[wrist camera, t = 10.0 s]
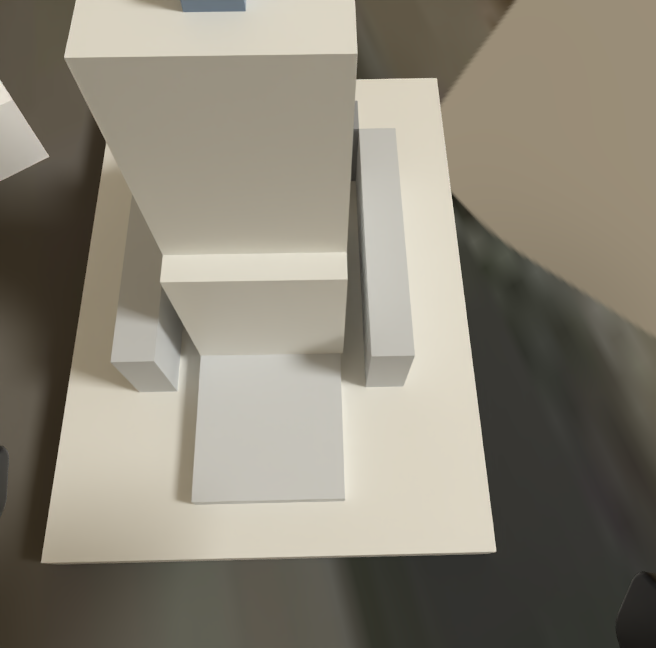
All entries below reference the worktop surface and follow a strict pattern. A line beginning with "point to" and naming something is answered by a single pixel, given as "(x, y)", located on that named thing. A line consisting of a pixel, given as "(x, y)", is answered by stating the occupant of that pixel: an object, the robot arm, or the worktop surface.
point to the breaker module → (233, 156)
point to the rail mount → (283, 389)
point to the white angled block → (16, 139)
